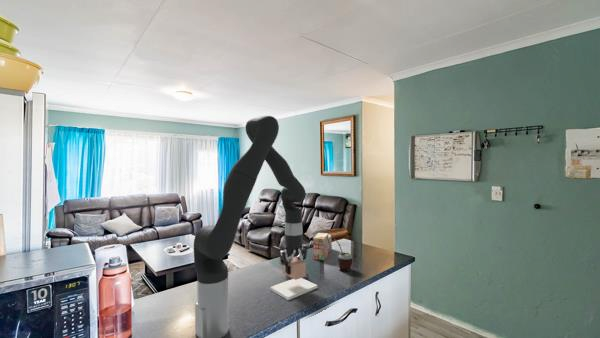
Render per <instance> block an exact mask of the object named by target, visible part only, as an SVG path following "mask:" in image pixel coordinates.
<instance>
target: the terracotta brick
mask: <svg viewBox="0 0 600 338" xmlns="http://www.w3.org/2000/svg"><path fill="white" fill-rule="evenodd" d="M289 258H290V256H289ZM288 261H289V260H288ZM306 263H307V262H306V261H305V260H303V261H302V260H300V259H297V257H296V256H295V257H293V260H292V261H291V265H290V266H291V274H290V275H288V274H287V273H286V272H285V265H283V266H282V275H285V276H287V277H289V278H291V279H295V280H297V279H300V278H302V277H303V278H305V277H307V276H306V274H307V264H306Z"/></svg>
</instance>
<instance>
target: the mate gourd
mask: <svg viewBox="0 0 600 338" xmlns="http://www.w3.org/2000/svg"><path fill="white" fill-rule="evenodd" d="M334 241H335V242H336V243H337V244H338V247H339V249H340V251H341V252H340V253H339V255H338V260H337V262H338V267H339V272H344V271H345V272H346V274H347V273H348V274H349V273H350V271H351V270H352V266H353V256H352V254H350V253H349V252H343V249H342V247H341V243H340V242H339V241H338V240H336V239H335V238H334Z"/></svg>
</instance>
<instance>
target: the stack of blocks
mask: <svg viewBox="0 0 600 338" xmlns="http://www.w3.org/2000/svg"><path fill="white" fill-rule="evenodd" d="M332 240H333V239H332V234H329V233H327V232H318V233H317V234H315V236H313V237H312V248H313V249H312V250H313V251H312V259H313V260H315V261H316V260H317V261H319V260H320V261H324V260H326V258H327V257H328V255H329V253H330V252H331V251H332V248H333V247H332V246H333V244H332Z"/></svg>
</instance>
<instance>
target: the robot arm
mask: <svg viewBox="0 0 600 338" xmlns="http://www.w3.org/2000/svg"><path fill="white" fill-rule="evenodd" d="M279 130H280V125H279V121H278V120H277V118H276V117H274V116H271V115H263V116H256V117H251V118H250V119H248V120H247V122H246V124H245V133H246V135H247V137H248V139H249V140H250V143H251V145H250V147H249V148H248V150H246V152H245V153H244V154H242V156H241V157H239V159H238V160H236V162H235V163H234V164H233V165H232V167H231V168H230V172H229V173H228V175H227V178H226V179H225V182H224V185H223V189H222V190H223V191H222V208H221V211H220V214H219V216H218V219H217V220H216V223H215V224H214V225H211V224H210V225H205V226H202V227H200V228H199V230H198V231H197V232H196V233H195V236H194V239H193V261H194V262H193V263H194V271H195V273H196V278H197V279H196V282H197V283H196V285H197V286H196V287H197V292H196V293H197V302H196V303H195V304H194V305H195V307H194V309H195V311H194V312H195V315H194V316H195V321H194V323H195V325H194V326H195V327H194V329H195V331H194V332H195V335H196V336H197V337H198V338H224V337H226V336H227V334H228V333H229V323H230V322H229V268H228V266H227V264H226V263H225V261H224V259H223V258H225V257H226V256H227V255H228V254H229V252H230V250H231V249H232V247H233V244H234V242H235V238H236V236H237V231H238V228H239V226H240V222H241V219H242V216H243V214H244V211H245V208H246V207H247V203H248V200H249V198H250V196H251V194H252V192H253V189H254V186H255V184H256V182H257V179H258V177H259V174H260V172H261V170H262V167H263V166H264V163H265V162H266V164H267V165H268V166H269V168H270V170H271V172H272V174H273V175H274V178H275V180H276V182H277V183H278V185H279V186H280V187H282V190H281V192H280V197H281V202H282V206H283V210H284V212H285V213H284V215H285V216H284V217H285V218H284V219H285V220H284V221H285V223H284V224H285V225H284V244H285V248H284V249H283V250H281V249H280V250H279V260H280V259H281V264H283V265H285V272H286V273H287V274H288V275H290V274H291V266H290V265H291V261H292V260H293V257H295V258H297V259H300V260H302V261H305V260H306V259H307V256H308V255H307V254H308V245H306V244H303V242H304V241H303V237H304V236H303V235H304V234H303V232H304V231H303V219H302V218H303V214H302V213H303V212H302V209H301V208H300V207H298V206H296V205H295V204H296V203H298V204H299V203H302V202H304V200H305V199H306V195H307V194H306V193H307V192H306V190H305V188H304V186H303V184H302V183H301V182H300V181H299V180H298V178H296V176H295V175H294V173H293V171H292V169H291V167H290V165H289V163H288V161H287V160H286V159H285V158H284V157H283V155H281V154H280V153H279V152H278V151H277V150H276V149H275V148H274V147H273V145H274V143H275V141H276V139H277V137H278V135H279ZM289 257H290V258H289ZM288 260H289V261H288Z"/></svg>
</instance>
